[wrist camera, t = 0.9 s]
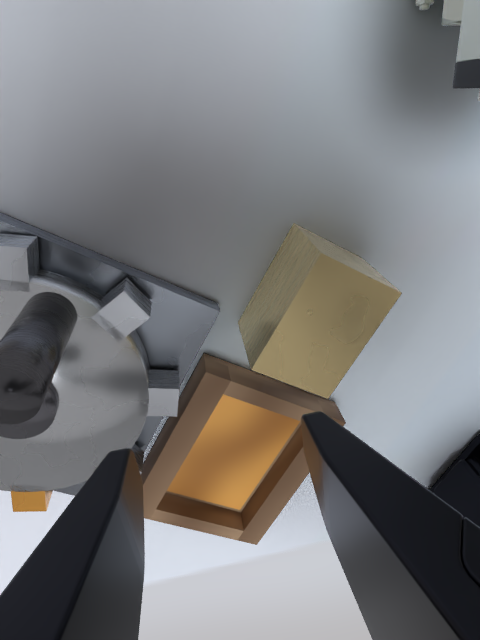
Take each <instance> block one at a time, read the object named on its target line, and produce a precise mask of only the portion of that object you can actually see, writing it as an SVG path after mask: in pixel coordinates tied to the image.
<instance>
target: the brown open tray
mask: <svg viewBox="0 0 480 640" xmlns="http://www.w3.org/2000/svg"><path fill="white" fill-rule="evenodd" d="M317 411H321V412H324V413H325V414H326V415H328V416H329V417H331V418H332V419H333V420H335V421H336V422H337V423H339V424H340V425H341V426H344V424H345V423H346V422H345V420H344V418H343V416H342V415H341V413H340V411H339V409H338V407H337V405H336V403H335V402H333V401H330V400H328V399H325V398H322V397H320V396H317V395H314V394H312V393H309V392H306V391H304V390H301V389H298V388H296V387H293V386H290V385H288V384H285V383H282V382H280V381H277V380H274V379H272V378H269V377H266V376H264V375H261V374H258V373H256V372H253V371H250V370H248V369H245V368H242V367H240V366H237V365H234V364H232V363H229V362H226V361H224V360H221V359H218V358H216V357H213V356H210V355H208V354H205V353H203V355H202V357H201V359H200V361H199V363H198V364H197V366H196V368H195V370H194V372H193V374H192V375H191V377H190V379H189V381H188V383H187V385H186V386H185V388H184V390H183V392H182V394H181V396H180V397H179V400H178V411H177V417H173V416H169V418H168V420H167V421H166V423H165V425H164V427H163V429H162V431H161V432H160V434H159V436H158V438H157V440H156V442H155V443H154V445H153V447H152V449H151V451H150V453H149V454H148V456H147V458H146V460H145V462H144V464H143V469H142V474H140V475H141V478H142V483H143V505H144V518H146V519H150V520H154V521H159V522H163V523H167V524H171V525H176V526H180V527H184V528H188V529H192V530H197V531H201V532H205V533H209V534H213V535H218V536H222V537H226V538H230V539H234V540H239V541H243V542H247V543H251V544H256V545H257V544H258V542H259V541H260V540H261V538H262V537H263V535H264V534H265V533H266V531H267V530H268V529H269V527H270V526H271V524H272V523H273V522H274V520H275V519H276V518H277V516H278V515H279V513H280V512H281V511H282V509H283V508H284V507H285V505H286V504H287V502H288V501H289V500H290V498H291V497H292V496H293V494H294V493H295V491H296V490H297V489H298V487H299V486H300V485H301V483H302V482H303V481H304V479H305V478H306V476H307V475H308V474H309V472H310V471H309V468H308V465H307V461H306V458H305V453H304V448H303V438H302V426H301V417H302V415H303V414H306V413H311V412H317Z"/></svg>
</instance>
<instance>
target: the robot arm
mask: <svg viewBox="0 0 480 640" xmlns="http://www.w3.org/2000/svg"><path fill="white" fill-rule="evenodd" d="M301 426H302V438H303V448H304V453H305V458H306V461H307V465H308V468H309V471H310V475H311V478H312V482H313V485H314V489H315V492H316V496H317V499H318V503H319V506H320V510H321V513H322V517H323V520H324V523H325V526H326V529H327V532H328V534H329V537H330V539H331V542H332V544H333V547H334V549H335V551H336V554H337V556H338V559H339V561H340V563H341V566H342V568H343V570H344V573H345V575H346V577H347V580H348V582H349V585H350V587H351V589H352V592H353V594H354V596H355V599H356V601H357V603H358V606H359V609H360V611H361V613H362V616H363V618H364V620H365V623H366V625H367V627H368V630H369V632H370V635H371V637H372V639H373V640H480V434H479V435H477V436H476V438H475V439H474V440H473V441H472V442H471V443H470V444H469V446H468V447H467V448H466V449H465V450H464V451H463V452H462V454H461V455H460V456H459V457H458V458H457V459H456V460H455V462H454V463H453V464H452V465H451V466H450V467H449V468H448V470H447V471H446V472H445V473H444V474H443V475H442V476H441V478H440V479H439V480H438V481H437V482H436V483H435V484H434V486H433V487H432V488H431V489H430V490H428V489H427V488H425V487H424V486H423V485H421V484H420V483H419V482H417V481H416V480H415V479H413V478H412V477H411V476H409V475H408V474H406V473H405V472H404V471H402V470H401V469H400V468H398V467H397V466H396V465H394V464H393V463H392V462H390V461H389V460H387V459H386V458H385V457H383V456H382V455H381V454H379V453H378V452H377V451H375V450H374V449H373V448H371V447H370V446H368V445H367V444H366V443H364V442H363V441H362V440H360V439H359V438H358V437H356V436H355V435H354V434H352V433H351V432H350V431H348V430H347V429H345V428H344V427H343V426H341V425H340V424H339V423H337V422H336V421H335V420H333V419H332V418H331V417H329V416H328V415H326V414H325V413H324V412H321V411H317V412H311V413H306V414H303V415H302V417H301ZM144 554H145V552H144V505H143V483H142V478H141V475H140V472H139V468H138V465H137V462H136V459H135V456H134V453H133V451H132V450H131V449H130V448H123V449H118V450H113V451H110V452H109V453H108V454H107V455H106V456H105V458H104V459H103V460H102V462H101V463H100V464H99V466H98V467H97V468H96V470H95V471H94V472H93V474H92V475H91V476H90V478H89V479H88V480H87V481H86V483H85V484H84V485H83V487H82V488H81V489H80V491H79V492H78V493H77V495H76V496H75V497H74V499H73V500H72V501H71V503H70V504H69V505H68V507H67V508H66V509H65V510H64V512H63V513H62V514H61V516H60V517H59V518H58V520H57V521H56V522H55V524H54V525H53V526H52V528H51V529H50V530H49V532H48V533H47V534H46V536H45V537H44V538H43V540H42V541H41V542H40V543H39V545H38V546H37V547H36V549H35V550H34V551H33V553H32V554H31V555H30V557H29V558H28V559H27V561H26V562H25V563H24V565H23V566H22V567H21V569H20V570H19V571H18V572H17V574H16V575H15V576H14V578H13V579H12V580H11V582H10V583H9V584H8V586H7V587H6V588H5V590H4V591H3V592H2V594H1V595H0V640H138V635H139V624H140V614H141V603H142V592H143V581H144Z"/></svg>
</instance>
